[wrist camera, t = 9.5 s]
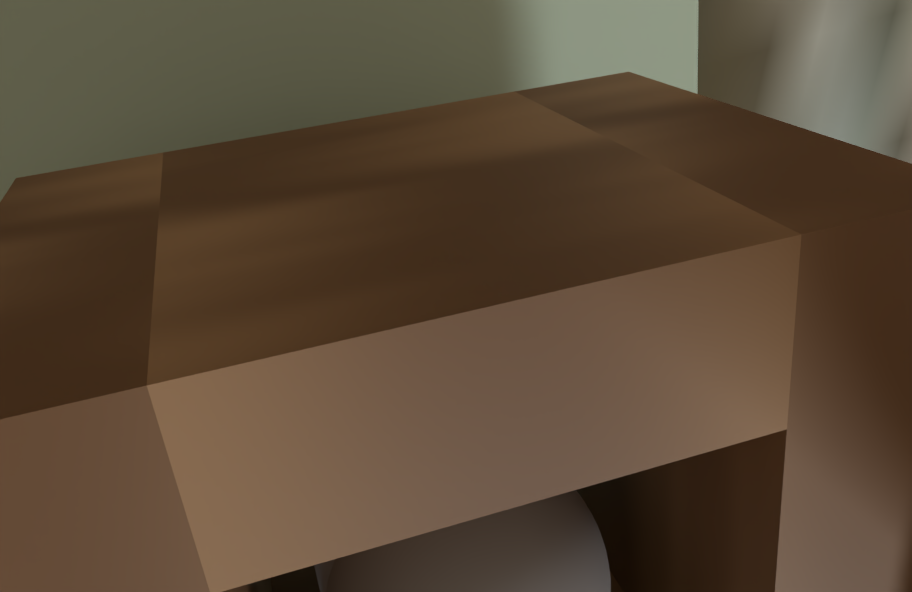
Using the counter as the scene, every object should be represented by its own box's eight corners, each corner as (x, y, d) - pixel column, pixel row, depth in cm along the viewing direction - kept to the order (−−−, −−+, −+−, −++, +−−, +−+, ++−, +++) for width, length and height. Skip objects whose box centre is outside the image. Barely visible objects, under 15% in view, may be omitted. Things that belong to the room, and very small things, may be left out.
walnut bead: (181, 659, 13) (182, 1131, 8) (16, 177, 10) (-164, 457, 5) (636, 522, 15) (879, 839, 10) (628, 71, 12) (991, 190, 7)
